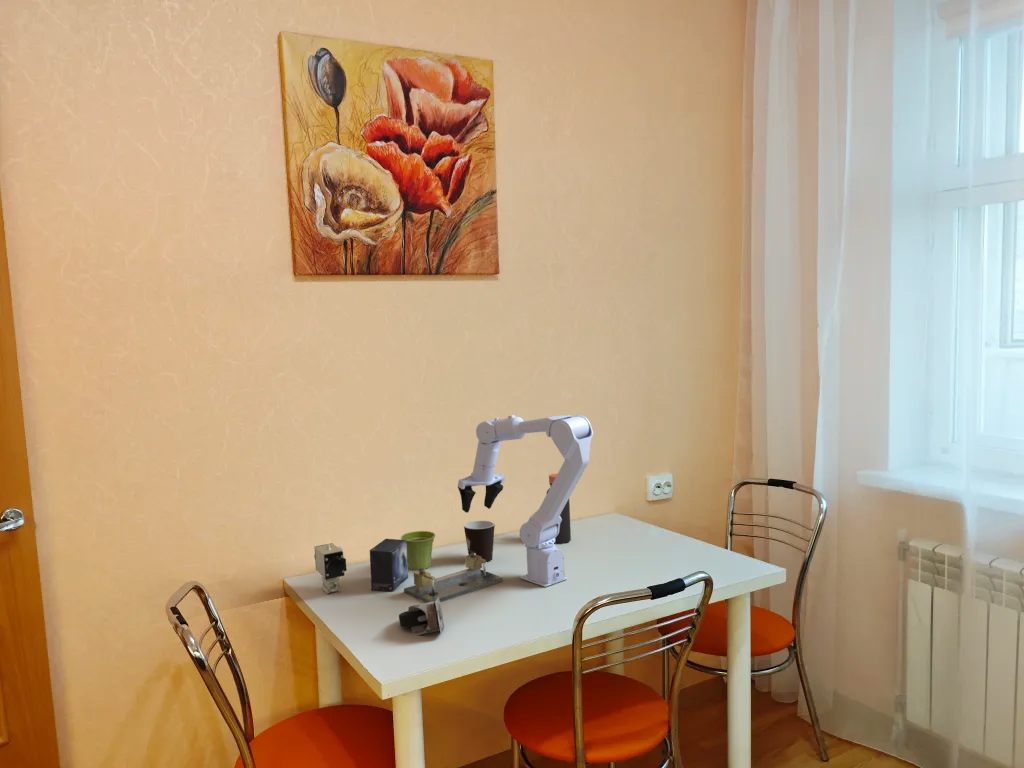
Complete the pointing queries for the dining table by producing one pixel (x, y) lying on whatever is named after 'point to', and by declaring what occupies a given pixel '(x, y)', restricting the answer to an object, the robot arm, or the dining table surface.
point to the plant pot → (419, 548)
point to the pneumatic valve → (330, 565)
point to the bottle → (564, 527)
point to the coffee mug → (480, 538)
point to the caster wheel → (423, 618)
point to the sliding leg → (475, 562)
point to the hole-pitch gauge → (449, 584)
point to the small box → (388, 564)
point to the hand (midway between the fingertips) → (476, 509)
